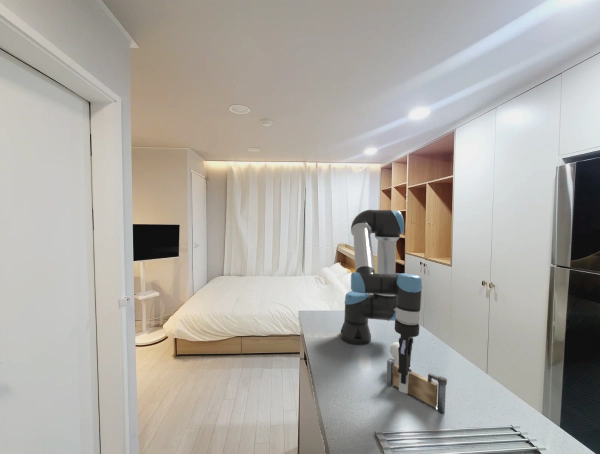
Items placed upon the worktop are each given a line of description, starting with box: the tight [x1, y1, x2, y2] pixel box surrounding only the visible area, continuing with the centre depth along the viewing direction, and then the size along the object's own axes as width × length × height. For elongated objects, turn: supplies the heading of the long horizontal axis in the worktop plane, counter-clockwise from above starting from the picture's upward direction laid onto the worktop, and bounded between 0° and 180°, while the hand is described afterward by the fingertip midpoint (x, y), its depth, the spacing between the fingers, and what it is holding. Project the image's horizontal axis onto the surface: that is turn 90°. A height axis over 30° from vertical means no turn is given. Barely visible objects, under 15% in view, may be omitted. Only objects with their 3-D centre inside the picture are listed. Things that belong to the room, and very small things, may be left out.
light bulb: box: [389, 341, 399, 365], centre depth 99 cm, size 7×7×11 cm
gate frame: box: [385, 357, 447, 415], centre depth 84 cm, size 19×3×9 cm, turn 43°
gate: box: [392, 363, 448, 407], centre depth 83 cm, size 17×2×10 cm, turn 42°
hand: (403, 391), depth 83 cm, fingers closed
